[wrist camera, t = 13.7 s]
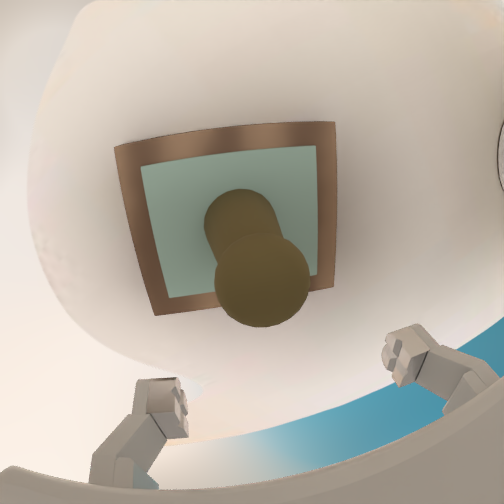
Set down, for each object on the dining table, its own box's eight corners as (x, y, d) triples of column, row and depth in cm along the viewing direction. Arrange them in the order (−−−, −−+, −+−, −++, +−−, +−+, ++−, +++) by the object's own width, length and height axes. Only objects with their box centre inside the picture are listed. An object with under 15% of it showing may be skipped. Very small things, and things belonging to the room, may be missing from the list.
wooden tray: (321, 121, 25) (336, 121, 22) (323, 272, 31) (334, 288, 29) (123, 144, 23) (112, 147, 20) (157, 298, 29) (154, 317, 27)
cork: (289, 228, 25) (345, 298, 15) (234, 270, 26) (256, 360, 16) (247, 173, 22) (285, 215, 13) (188, 220, 23) (181, 295, 13)
